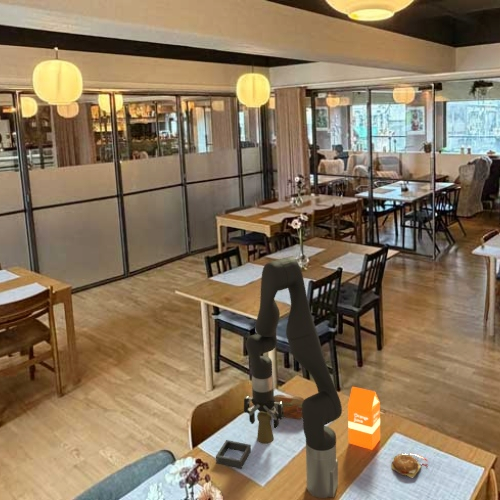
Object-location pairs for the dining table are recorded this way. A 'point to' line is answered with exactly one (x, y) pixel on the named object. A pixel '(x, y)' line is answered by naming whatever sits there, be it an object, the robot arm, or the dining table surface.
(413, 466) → the hamburger
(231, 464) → the steel collar
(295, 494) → the dining table surface
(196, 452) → the dining table surface
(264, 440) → the cork
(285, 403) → the tin
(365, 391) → the orange juice
